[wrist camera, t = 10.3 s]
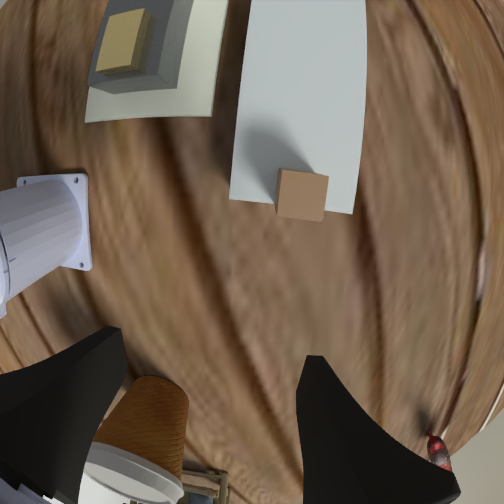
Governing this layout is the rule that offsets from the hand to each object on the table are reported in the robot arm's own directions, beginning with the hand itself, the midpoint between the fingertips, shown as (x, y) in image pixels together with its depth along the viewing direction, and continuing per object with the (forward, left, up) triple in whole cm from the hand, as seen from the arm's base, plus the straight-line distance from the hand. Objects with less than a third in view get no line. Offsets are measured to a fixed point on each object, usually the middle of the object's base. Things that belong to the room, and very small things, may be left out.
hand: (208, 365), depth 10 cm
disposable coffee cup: (-7, -16, -11) cm, 20 cm away
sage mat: (-8, +16, -10) cm, 21 cm away
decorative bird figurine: (+29, -23, -11) cm, 39 cm away
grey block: (-8, +16, -10) cm, 20 cm away
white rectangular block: (+3, +13, -10) cm, 17 cm away
